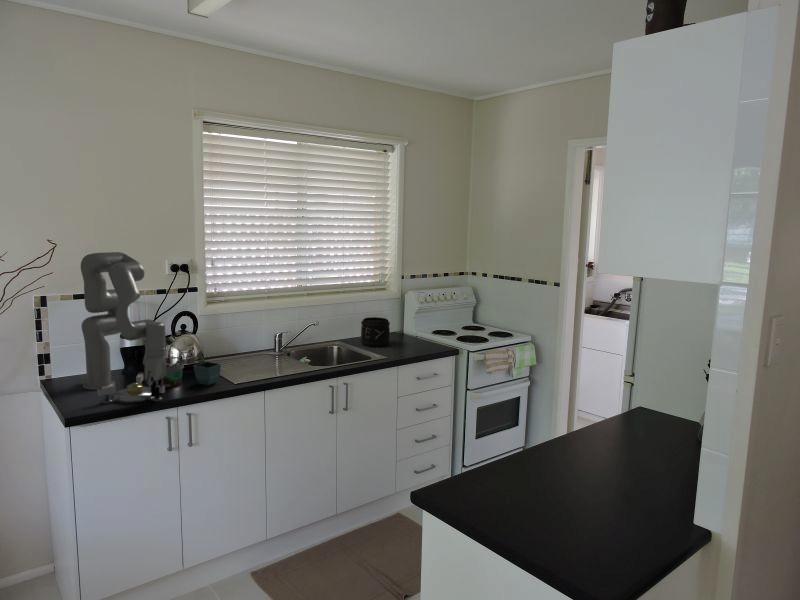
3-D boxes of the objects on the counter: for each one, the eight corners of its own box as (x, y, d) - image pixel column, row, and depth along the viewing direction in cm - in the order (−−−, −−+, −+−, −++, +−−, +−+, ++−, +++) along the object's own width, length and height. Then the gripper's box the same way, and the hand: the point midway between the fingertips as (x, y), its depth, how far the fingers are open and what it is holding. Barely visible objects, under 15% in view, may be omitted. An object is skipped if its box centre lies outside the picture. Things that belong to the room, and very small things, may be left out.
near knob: (114, 397, 237) (114, 384, 236) (116, 398, 235) (115, 385, 235) (97, 400, 232) (97, 387, 231) (99, 401, 231) (98, 388, 230)
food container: (174, 390, 253) (173, 368, 251) (161, 388, 254) (161, 366, 253) (189, 382, 265) (189, 361, 263) (177, 381, 266) (177, 360, 265)
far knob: (149, 397, 238) (148, 384, 238) (152, 395, 240) (151, 383, 239) (162, 399, 237) (161, 385, 236) (165, 397, 239) (165, 384, 238)
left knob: (141, 388, 249) (140, 376, 248) (136, 389, 249) (135, 376, 248) (143, 384, 255) (143, 372, 254) (139, 384, 255) (138, 372, 254)
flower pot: (209, 387, 258) (209, 368, 257) (193, 384, 261) (193, 365, 260) (221, 382, 267) (221, 363, 265) (206, 379, 270) (205, 361, 268)
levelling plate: (98, 403, 233) (97, 389, 232) (138, 387, 255) (138, 374, 254) (141, 409, 227) (141, 395, 226) (179, 392, 249) (179, 379, 248)
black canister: (353, 344, 354) (354, 319, 352) (373, 340, 368) (374, 315, 365) (375, 349, 342) (376, 323, 340) (394, 344, 356) (395, 319, 354)
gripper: (156, 347, 244) (158, 389, 247) (136, 356, 228) (138, 401, 231) (173, 348, 243) (174, 390, 246) (154, 357, 228) (156, 402, 230)
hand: (157, 395), depth 238 cm, fingers closed on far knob, 2 cm apart
